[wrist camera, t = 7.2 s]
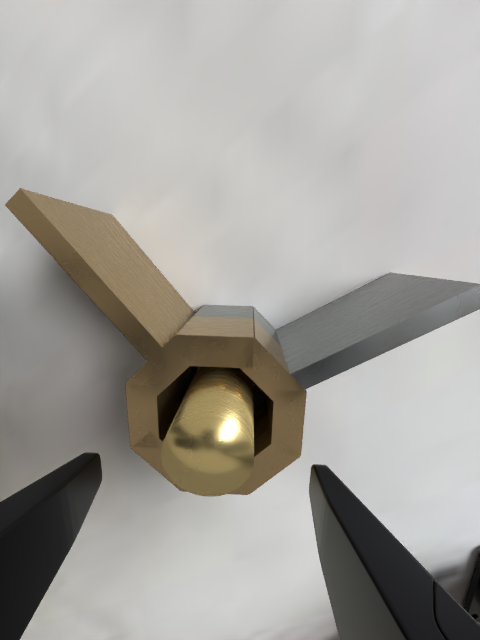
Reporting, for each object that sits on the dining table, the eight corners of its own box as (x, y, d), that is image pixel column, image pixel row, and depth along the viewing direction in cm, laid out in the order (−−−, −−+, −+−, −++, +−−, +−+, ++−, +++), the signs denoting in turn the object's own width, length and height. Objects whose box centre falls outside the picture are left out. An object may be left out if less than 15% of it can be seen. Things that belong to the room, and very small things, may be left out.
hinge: (374, 418, 17) (439, 505, 11) (118, 407, 17) (51, 484, 12) (406, 220, 14) (514, 196, 8) (100, 214, 15) (2, 187, 9)
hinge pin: (251, 385, 17) (252, 499, 9) (203, 383, 17) (162, 493, 9) (253, 339, 16) (256, 418, 8) (203, 337, 16) (158, 414, 8)
